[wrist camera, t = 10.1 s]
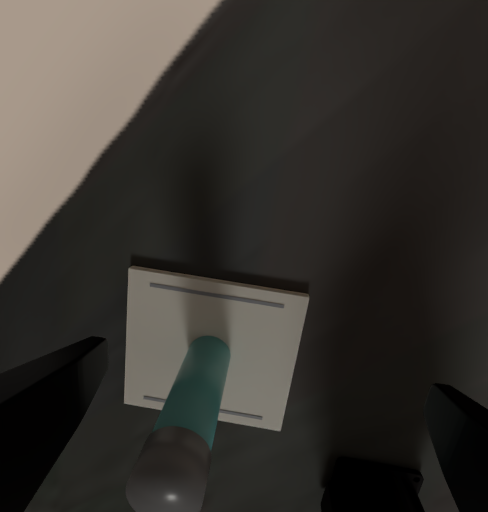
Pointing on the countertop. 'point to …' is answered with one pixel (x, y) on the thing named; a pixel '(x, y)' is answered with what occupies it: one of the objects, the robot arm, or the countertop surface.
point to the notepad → (218, 325)
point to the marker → (182, 435)
